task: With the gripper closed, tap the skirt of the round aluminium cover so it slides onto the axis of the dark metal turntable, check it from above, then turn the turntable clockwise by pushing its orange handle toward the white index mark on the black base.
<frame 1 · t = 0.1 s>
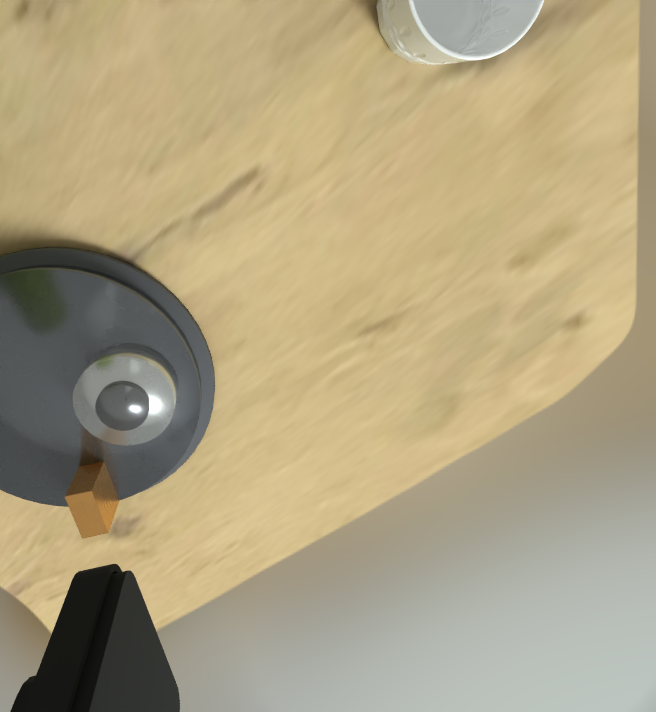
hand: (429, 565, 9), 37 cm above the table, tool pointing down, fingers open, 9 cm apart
turntable base: (76, 383, 45), on the table
cover: (131, 385, 43), point 3 cm above the table, touching turntable
turntable: (61, 406, 42), point 4 cm above the table, hinge at 0.0°, touching cover
white cup: (423, 10, 39), on the table
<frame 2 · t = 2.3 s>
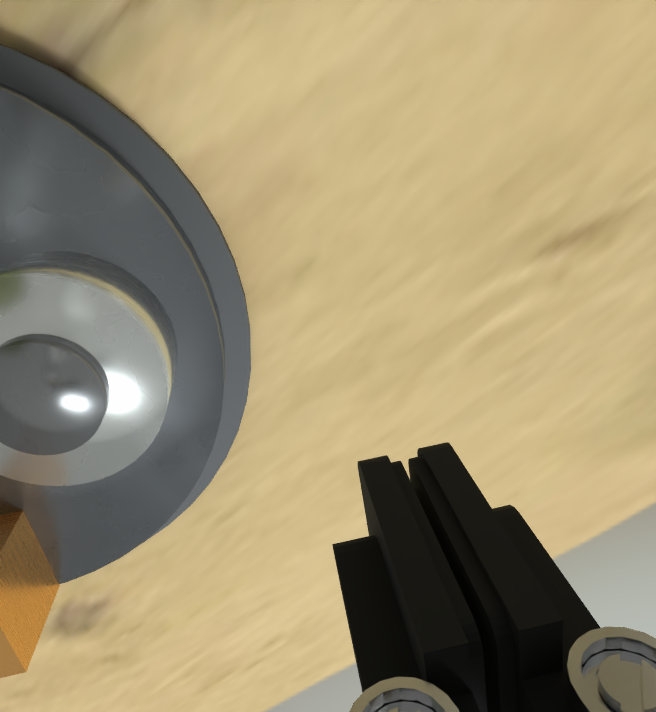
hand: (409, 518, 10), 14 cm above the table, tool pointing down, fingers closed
cover: (74, 350, 20), point 3 cm above the table, touching turntable
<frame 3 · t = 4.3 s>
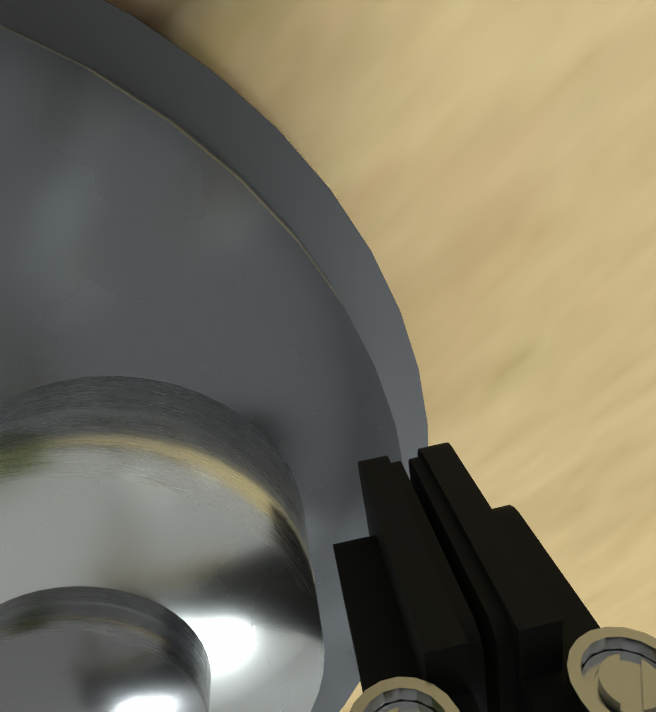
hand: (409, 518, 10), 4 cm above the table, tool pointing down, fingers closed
cover: (124, 540, 11), point 3 cm above the table, touching gripper, turntable
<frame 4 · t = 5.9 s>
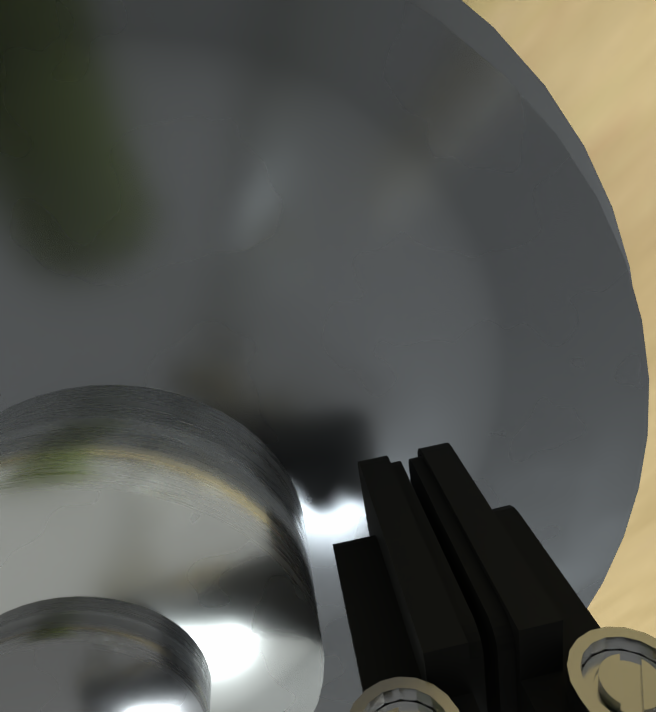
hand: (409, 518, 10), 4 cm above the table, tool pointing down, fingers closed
turntable base: (175, 456, 13), on the table
cover: (124, 548, 11), point 3 cm above the table, touching gripper, turntable
turntable: (149, 583, 10), point 4 cm above the table, hinge at -0.9°, touching cover
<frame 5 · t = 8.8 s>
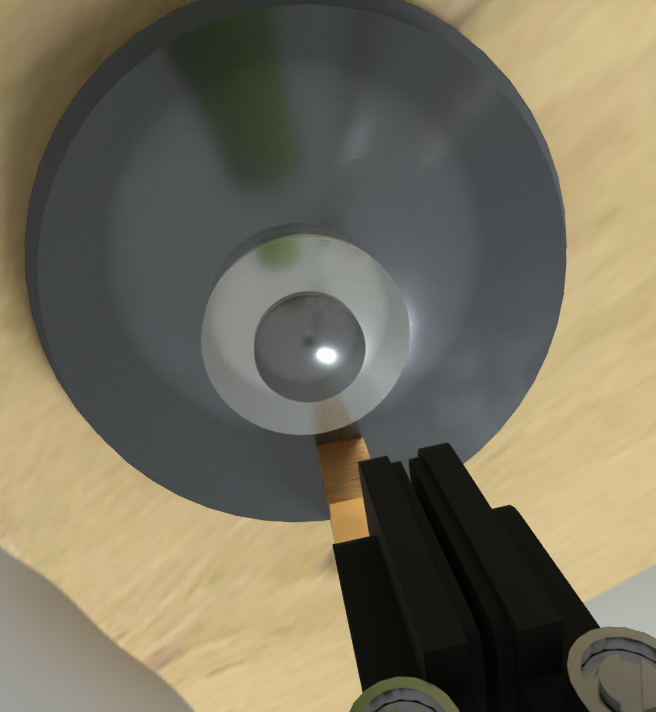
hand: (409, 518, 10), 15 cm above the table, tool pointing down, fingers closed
turntable base: (309, 288, 24), on the table
cover: (300, 315, 22), point 3 cm above the table, touching turntable
turntable: (321, 318, 20), point 4 cm above the table, hinge at -0.9°, touching cover
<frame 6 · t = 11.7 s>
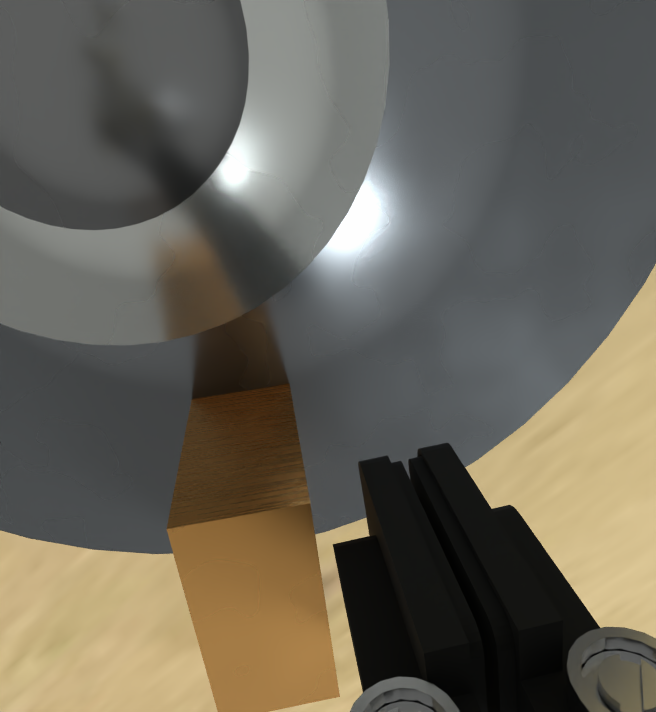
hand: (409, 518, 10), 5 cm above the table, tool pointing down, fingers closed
cover: (135, 78, 9), point 3 cm above the table, touching turntable
turntable: (167, 53, 8), point 4 cm above the table, hinge at -2.1°, touching cover, gripper
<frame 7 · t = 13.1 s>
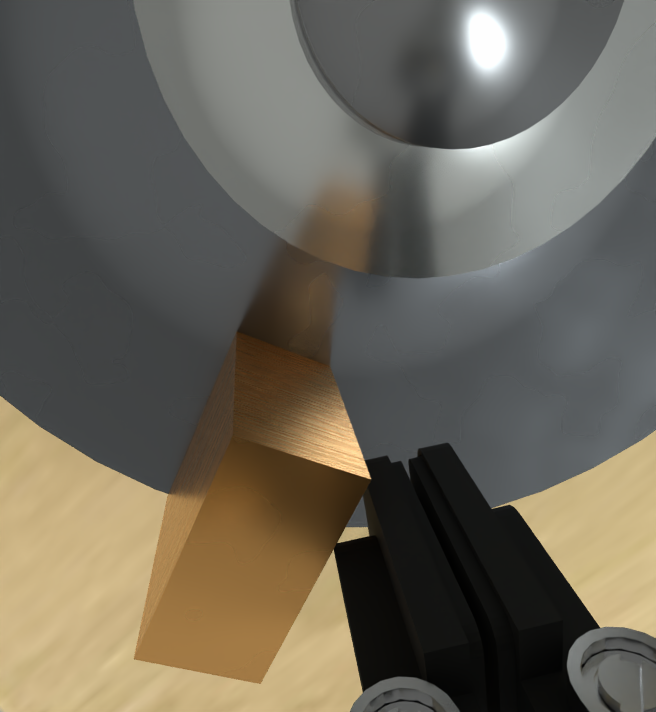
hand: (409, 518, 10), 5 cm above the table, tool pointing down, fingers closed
cover: (383, 24, 9), point 3 cm above the table, touching turntable
turntable: (450, 23, 8), point 4 cm above the table, hinge at -33.5°, touching cover, gripper
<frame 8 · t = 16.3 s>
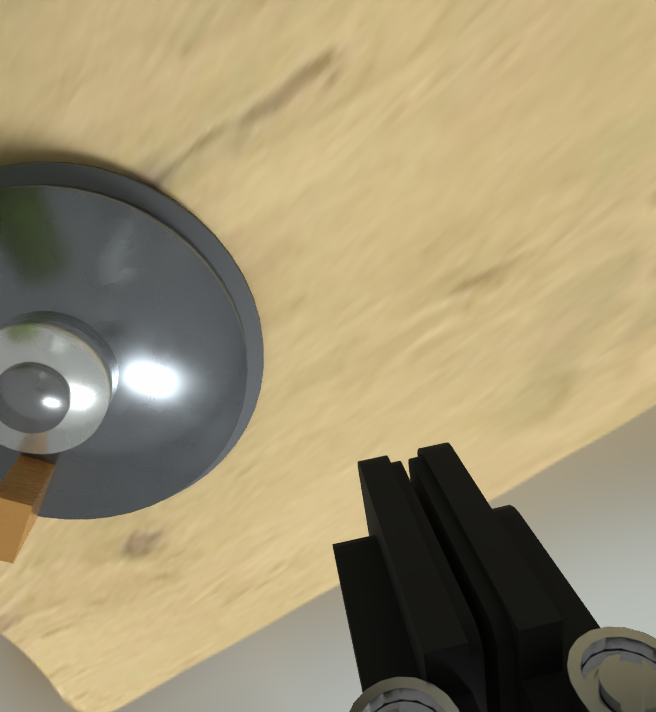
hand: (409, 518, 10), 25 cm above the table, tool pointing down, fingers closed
turntable base: (80, 354, 34), on the table
cover: (52, 370, 31), point 3 cm above the table, touching turntable
turntable: (59, 382, 30), point 4 cm above the table, hinge at -33.9°, touching cover
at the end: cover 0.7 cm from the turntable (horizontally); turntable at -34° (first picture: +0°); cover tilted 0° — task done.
